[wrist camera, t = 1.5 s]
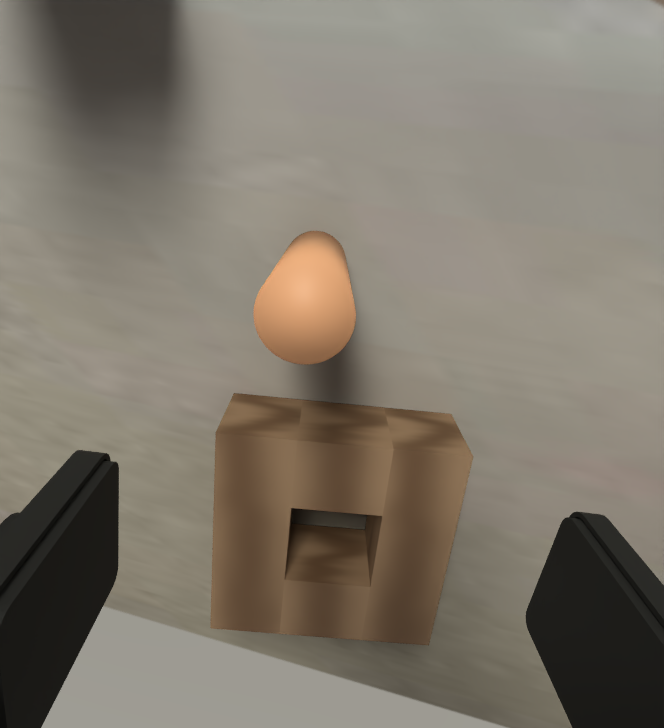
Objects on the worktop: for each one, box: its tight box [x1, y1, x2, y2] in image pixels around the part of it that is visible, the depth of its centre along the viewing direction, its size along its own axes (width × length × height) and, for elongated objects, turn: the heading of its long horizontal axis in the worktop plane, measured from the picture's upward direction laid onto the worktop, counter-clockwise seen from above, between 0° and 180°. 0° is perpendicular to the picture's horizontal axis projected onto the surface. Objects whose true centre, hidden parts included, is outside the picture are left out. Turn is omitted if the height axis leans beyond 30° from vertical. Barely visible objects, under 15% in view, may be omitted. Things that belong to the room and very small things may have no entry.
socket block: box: [211, 393, 473, 645], centre depth 36 cm, size 16×16×6 cm
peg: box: [254, 231, 356, 364], centre depth 26 cm, size 4×4×14 cm
